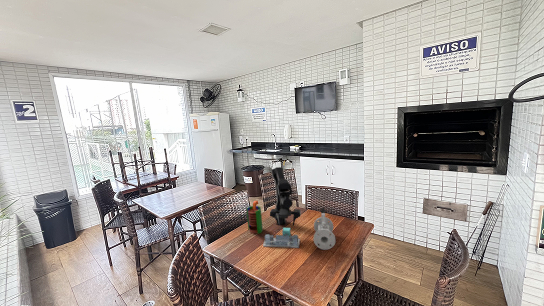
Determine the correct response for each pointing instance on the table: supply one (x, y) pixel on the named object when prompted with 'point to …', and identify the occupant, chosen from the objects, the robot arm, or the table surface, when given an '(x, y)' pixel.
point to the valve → (323, 232)
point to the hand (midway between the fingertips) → (286, 225)
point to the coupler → (286, 231)
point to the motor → (254, 218)
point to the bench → (282, 241)
